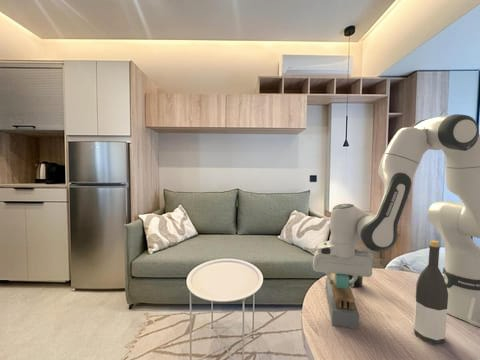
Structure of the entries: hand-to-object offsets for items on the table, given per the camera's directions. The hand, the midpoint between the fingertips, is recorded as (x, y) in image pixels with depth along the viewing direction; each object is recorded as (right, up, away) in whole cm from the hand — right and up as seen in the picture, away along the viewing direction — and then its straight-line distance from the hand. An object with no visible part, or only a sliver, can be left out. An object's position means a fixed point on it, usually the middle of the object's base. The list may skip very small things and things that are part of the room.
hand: (340, 284), depth 93 cm
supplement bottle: (+13, -7, +18) cm, 23 cm away
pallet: (0, -3, 0) cm, 3 cm away
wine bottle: (+21, -10, -15) cm, 28 cm away
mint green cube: (0, 0, -2) cm, 2 cm away
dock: (0, -8, +1) cm, 8 cm away
